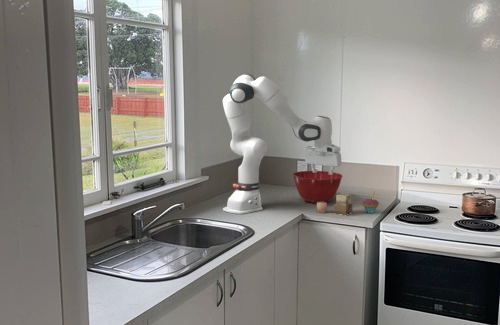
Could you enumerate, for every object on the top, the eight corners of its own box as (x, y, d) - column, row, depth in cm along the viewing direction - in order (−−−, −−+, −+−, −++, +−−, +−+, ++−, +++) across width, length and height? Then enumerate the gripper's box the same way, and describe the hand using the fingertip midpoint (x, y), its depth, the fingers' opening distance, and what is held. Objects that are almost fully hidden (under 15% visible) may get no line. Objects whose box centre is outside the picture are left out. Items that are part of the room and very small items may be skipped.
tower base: (345, 215, 265) (345, 206, 264) (333, 213, 269) (333, 204, 268) (352, 213, 270) (352, 203, 269) (340, 211, 275) (340, 202, 274)
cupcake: (380, 211, 273) (381, 189, 271) (375, 215, 266) (376, 192, 264) (365, 209, 278) (366, 187, 276) (359, 212, 271) (360, 190, 269)
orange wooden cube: (323, 213, 268) (323, 204, 268) (314, 212, 272) (314, 202, 271) (328, 211, 272) (328, 202, 272) (319, 210, 276) (320, 201, 275)
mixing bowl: (319, 193, 318) (319, 168, 315) (352, 202, 294) (353, 175, 292) (282, 198, 302) (282, 173, 300) (314, 208, 279) (314, 180, 276)
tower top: (345, 206, 265) (345, 196, 264) (336, 204, 268) (336, 195, 268) (350, 204, 269) (351, 194, 268) (341, 202, 273) (341, 193, 272)
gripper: (302, 146, 271) (302, 172, 273) (337, 149, 258) (336, 176, 260) (309, 145, 276) (309, 170, 278) (343, 148, 263) (342, 174, 265)
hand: (322, 173), depth 269 cm, fingers open, 8 cm apart
